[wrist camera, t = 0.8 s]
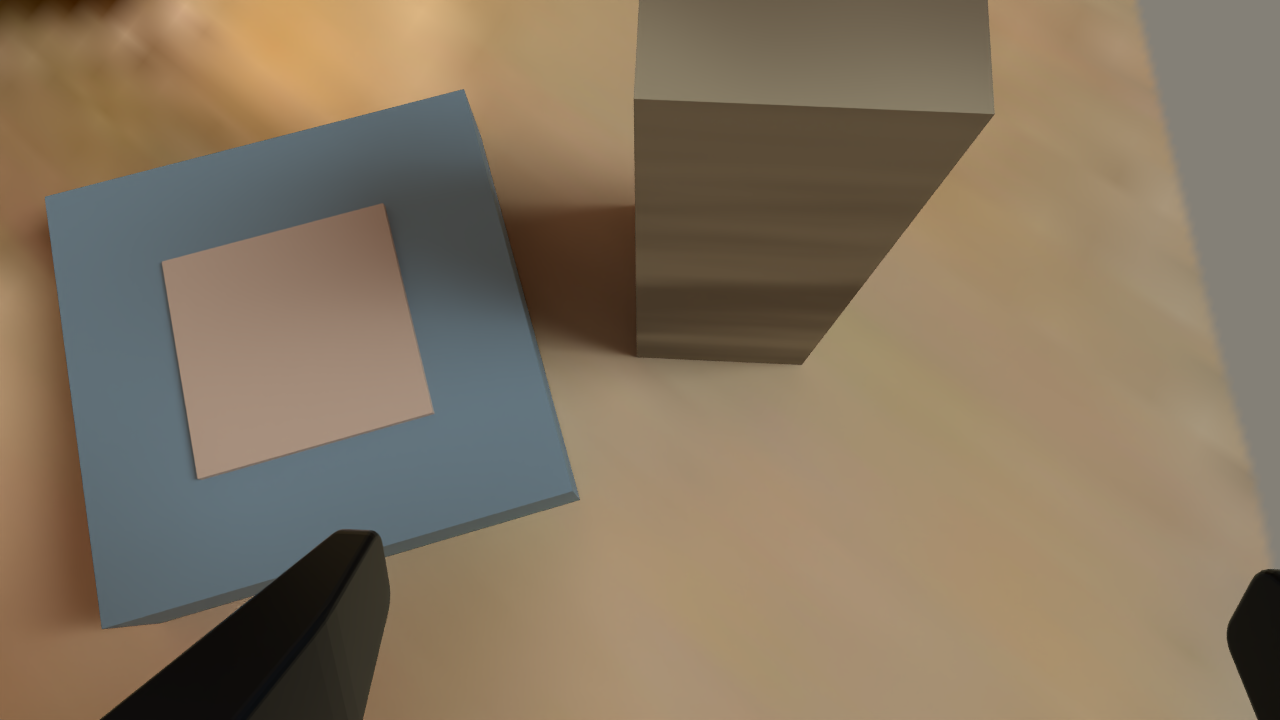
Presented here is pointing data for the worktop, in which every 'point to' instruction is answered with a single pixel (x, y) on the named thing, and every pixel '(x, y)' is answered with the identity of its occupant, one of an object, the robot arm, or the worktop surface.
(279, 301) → the plate
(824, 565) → the worktop surface
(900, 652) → the worktop surface
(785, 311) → the pillar
